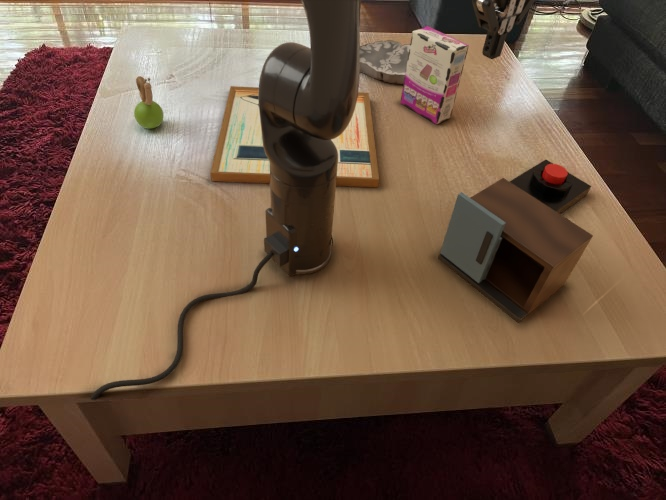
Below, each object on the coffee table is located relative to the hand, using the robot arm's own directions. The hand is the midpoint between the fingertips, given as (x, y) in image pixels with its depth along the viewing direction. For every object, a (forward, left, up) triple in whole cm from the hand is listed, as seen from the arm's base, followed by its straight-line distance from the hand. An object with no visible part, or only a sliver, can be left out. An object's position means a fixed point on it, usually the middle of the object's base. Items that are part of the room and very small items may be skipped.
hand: (490, 56), depth 76 cm
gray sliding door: (-13, -13, -26) cm, 32 cm away
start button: (+16, -10, -23) cm, 30 cm away
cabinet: (-6, -17, -27) cm, 32 cm away
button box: (+16, -10, -27) cm, 33 cm away
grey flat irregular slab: (+25, +41, -27) cm, 55 cm away
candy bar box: (+18, +23, -27) cm, 40 cm away
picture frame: (-11, +31, -27) cm, 43 cm away
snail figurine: (-33, +50, -27) cm, 66 cm away
